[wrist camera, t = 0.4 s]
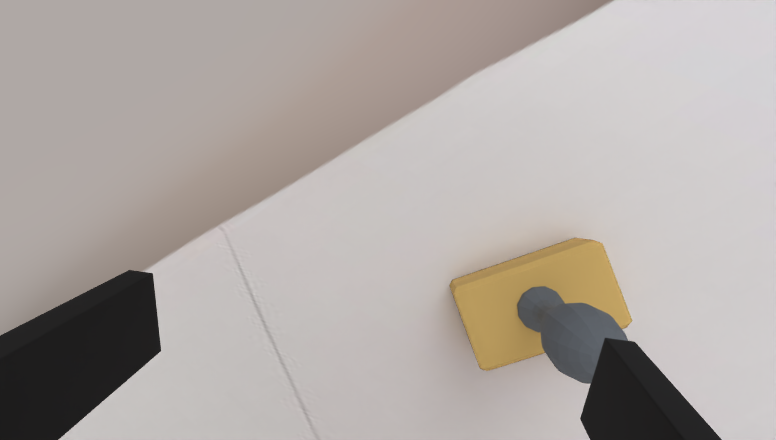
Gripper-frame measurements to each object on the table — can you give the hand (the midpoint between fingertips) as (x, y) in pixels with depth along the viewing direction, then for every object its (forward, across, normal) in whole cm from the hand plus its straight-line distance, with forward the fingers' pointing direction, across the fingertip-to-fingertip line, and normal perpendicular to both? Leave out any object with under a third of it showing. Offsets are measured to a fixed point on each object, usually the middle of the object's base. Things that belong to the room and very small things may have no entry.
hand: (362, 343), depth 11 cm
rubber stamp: (+16, +10, -6) cm, 20 cm away
